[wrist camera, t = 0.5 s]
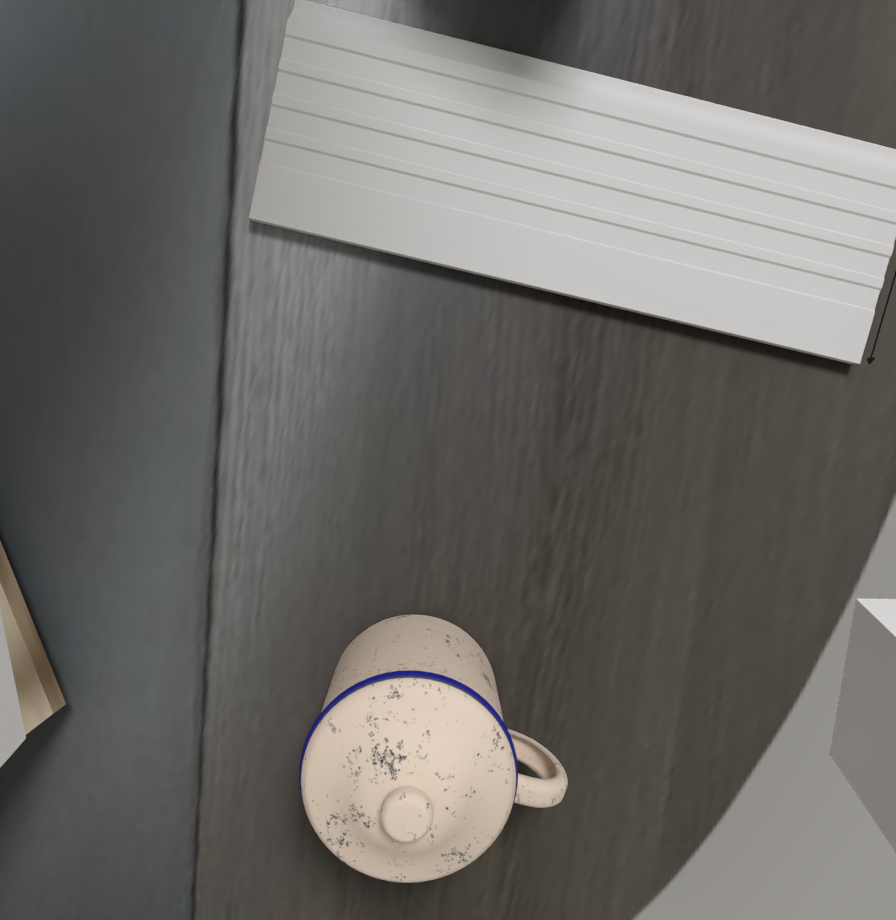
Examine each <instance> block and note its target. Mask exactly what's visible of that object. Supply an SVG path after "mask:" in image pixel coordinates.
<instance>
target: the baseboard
mask: <svg viewBox="0 0 896 920" xmlns="http://www.w3.org/2000/svg"><path fill="white" fill-rule="evenodd" d="M249 218H250V219H251V220H252V221H255V222H259V223H263V224H267V225H271V226H276V227H280V228H284V229H288V230H292V231H297V232H301V233H305V234H309V235H313V236H317V237H322V238H326V239H330V240H334V241H338V242H343V243H347V244H351V245H355V246H359V247H363V248H368V249H372V250H376V251H380V252H384V253H389V254H393V255H397V256H401V257H405V258H409V259H414V260H418V261H422V262H426V263H430V264H435V265H439V266H443V267H447V268H451V269H455V270H460V271H464V272H468V273H472V274H476V275H481V276H485V277H489V278H493V279H497V280H501V281H506V282H510V283H514V284H518V285H522V286H527V287H531V288H535V289H539V290H543V291H547V292H552V293H556V294H560V295H564V296H568V297H573V298H577V299H581V300H585V301H589V302H593V303H598V304H602V305H606V306H610V307H614V308H619V309H623V310H627V311H631V312H635V313H639V314H644V315H648V316H652V317H656V318H660V319H665V320H669V321H673V322H677V323H681V324H685V325H690V326H694V327H698V328H702V329H706V330H711V331H715V332H719V333H723V334H727V335H731V336H736V337H740V338H744V339H748V340H752V341H756V342H761V343H765V344H769V345H773V346H777V347H782V348H786V349H790V350H794V351H798V352H802V353H807V354H811V355H815V356H819V357H823V358H828V359H832V360H836V361H840V362H844V363H848V364H860V362H861V358H862V355H863V352H864V348H865V345H866V341H867V338H868V334H869V331H870V327H871V324H872V321H873V317H874V314H875V307H876V303H877V300H878V296H879V293H880V290H881V289H882V286H883V283H884V276H885V272H886V269H887V265H888V262H889V259H890V257H891V255H892V252H893V248H894V246H893V245H894V241H895V238H896V149H892V148H888V147H885V146H881V145H877V144H873V143H869V142H865V141H861V140H857V139H853V138H849V137H845V136H841V135H837V134H833V133H829V132H825V131H821V130H817V129H813V128H809V127H806V126H802V125H798V124H794V123H790V122H786V121H782V120H778V119H774V118H770V117H766V116H762V115H758V114H754V113H750V112H746V111H742V110H738V109H734V108H730V107H726V106H723V105H719V104H715V103H711V102H707V101H703V100H699V99H695V98H691V97H687V96H683V95H679V94H675V93H671V92H667V91H663V90H659V89H655V88H651V87H647V86H644V85H640V84H636V83H632V82H628V81H624V80H620V79H616V78H612V77H608V76H604V75H600V74H596V73H592V72H588V71H584V70H580V69H576V68H572V67H568V66H565V65H561V64H557V63H553V62H549V61H545V60H541V59H537V58H533V57H529V56H525V55H521V54H517V53H513V52H509V51H505V50H501V49H497V48H493V47H489V46H485V45H482V44H478V43H474V42H470V41H466V40H462V39H458V38H454V37H450V36H446V35H442V34H438V33H434V32H430V31H426V30H422V29H418V28H414V27H410V26H406V25H403V24H399V23H395V22H391V21H387V20H383V19H379V18H375V17H371V16H367V15H363V14H359V13H355V12H351V11H347V10H343V9H339V8H335V7H331V6H327V5H323V4H320V3H316V2H312V1H308V0H295V2H294V6H293V10H292V13H291V15H290V16H289V18H288V19H287V24H286V30H285V37H284V43H283V48H282V53H281V58H280V60H279V65H278V73H277V78H276V84H275V89H274V93H273V96H272V101H271V109H270V114H269V119H268V124H267V128H266V132H265V137H264V145H263V150H262V155H261V160H260V163H259V168H258V173H257V178H256V183H255V188H254V193H253V198H252V204H251V209H250V214H249ZM895 277H896V271H895V275H894V278H893V282H892V285H891V289H890V292H889V295H888V299H887V302H886V306H885V309H884V313H883V316H882V319H881V323H880V326H879V330H878V333H877V336H876V340H875V343H874V347H873V350H872V354H871V357H870V358H867V360H868V363H869V364H870V363H871V362H872V361H873V360H874V359H875V358H872V355H873V352H874V348H875V345H876V342H877V338H878V335H879V331H880V328H881V324H882V321H883V318H884V314H885V311H886V307H887V304H888V301H889V297H890V294H891V290H892V287H893V283H894V280H895Z"/></svg>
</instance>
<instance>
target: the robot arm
mask: <svg viewBox="0 0 896 920" xmlns="http://www.w3.org/2000/svg"><path fill="white" fill-rule="evenodd" d="M25 739H26V735H25V730H24V725H23V720H22V715H21V710H20V705H19V700H18V695H17V690H16V685H15V680H14V675H13V670H12V665H11V661H10V656H9V651H8V646H7V641H6V636H5V631H4V626H3V621H2V616H1V611H0V767H1V766H2V765H3V764H4V763H5V762H6V760H7V759H8V758H9V757H10V756H11V755H12V754H13V753H14V751H15V750H16V749H17V748H18V747H19V746H20V745H21V744H22V742H23V741H24V740H25ZM830 756H831V757H832V758H833V760H834V761H835V763H836V765H837V766H838V767H839V769H840V770H841V772H842V773H843V775H844V776H845V778H846V779H847V781H848V782H849V784H850V785H851V787H852V788H853V790H854V791H855V793H856V794H857V795H858V797H859V799H860V800H861V802H862V803H863V804H864V806H865V807H866V809H867V810H868V812H869V814H870V815H871V816H872V818H873V819H874V821H875V822H876V824H877V825H878V827H879V828H880V830H881V831H882V833H883V834H884V836H885V837H886V839H887V840H888V842H889V843H890V844H891V846H892V848H893V849H894V851H895V852H896V599H856V603H855V609H854V615H853V620H852V626H851V632H850V638H849V644H848V650H847V655H846V661H845V667H844V673H843V679H842V685H841V690H840V696H839V702H838V708H837V714H836V720H835V726H834V731H833V737H832V743H831V749H830Z"/></svg>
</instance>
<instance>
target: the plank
mask: <svg viewBox="0 0 896 920" xmlns="http://www.w3.org/2000/svg"><path fill="white" fill-rule="evenodd" d="M0 611H1V616H2V621H3V626H4V631H5V636H6V641H7V646H8V651H9V656H10V661H11V665H12V670H13V675H14V680H15V685H16V690H17V695H18V700H19V705H20V710H21V715H22V720H23V725H24V730H25V735H26V734H28V733H29V732H30V731H31V730H33V729H34V728H35V727H37V726H38V725H39V724H40V723H42V722H43V721H44V720H46V719H47V718H48V717H50V716H51V715H52V714H54V713H55V712H56V711H58V710H59V709H60V708H61V707H63V706H64V705H65V704H66V703H65V700H64V698H63V695H62V693H61V690H60V688H59V685H58V683H57V680H56V678H55V675H54V673H53V670H52V668H51V665H50V663H49V660H48V658H47V655H46V653H45V650H44V648H43V646H42V643H41V641H40V638H39V636H38V633H37V631H36V628H35V626H34V623H33V621H32V618H31V616H30V613H29V611H28V608H27V606H26V603H25V601H24V598H23V596H22V593H21V591H20V588H19V586H18V583H17V581H16V578H15V576H14V573H13V571H12V568H11V566H10V563H9V561H8V558H7V556H6V553H5V551H4V548H3V546H2V543H1V541H0Z"/></svg>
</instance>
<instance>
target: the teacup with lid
mask: <svg viewBox="0 0 896 920" xmlns="http://www.w3.org/2000/svg"><path fill="white" fill-rule="evenodd" d="M517 760H518V761H520V762H522V763H524V764H525V765H527V766H528V767H530V768H531V769H532V770H533V771H534V772H536V773H537V774H538V775H539V776H540V778H541V779H539V778H533V777H529V776H526V775H522V774H519V773H518V763H517ZM299 780H300V790H301V796H302V800H303V804H304V807H305V810H306V813H307V816H308V818H309V821H310V823H311V825H312V827H313V828H314V830H315V832H316V833H317V835H318V836H319V838H320V839H321V840H322V842H323V843H324V844H325V845H326V847H327V848H328V849H329V850H330V851H331V852H332V853H333V854H334V855H336V856H337V857H338V858H339V859H340V860H342V861H343V862H344V863H346V864H347V865H349V866H350V867H352V868H354V869H356V870H357V871H359V872H362V873H364V874H366V875H368V876H371V877H374V878H378V879H382V880H386V881H392V882H403V883H412V882H423V881H429V880H434V879H438V878H441V877H444V876H447V875H449V874H452V873H454V872H456V871H458V870H460V869H462V868H463V867H465V866H467V865H468V864H470V863H471V862H473V861H474V860H475V859H477V858H478V857H479V856H480V855H481V854H483V853H484V852H485V851H486V850H487V849H488V848H489V847H490V846H491V844H492V843H493V842H494V841H495V839H496V838H497V837H498V835H499V834H500V832H501V831H502V829H503V827H504V825H505V823H506V821H507V819H508V817H509V815H510V812H511V810H512V807H513V804H514V803H518V804H521V805H525V806H530V807H537V808H545V807H551V806H554V805H556V804H558V803H559V802H560V801H561V800H562V799H563V797H564V794H565V791H566V788H567V782H568V780H567V775H566V772H565V770H564V768H563V767H562V765H561V763H560V762H559V761H558V760H557V759H556V757H555V756H554V755H553V754H552V753H551V752H550V751H548V750H547V749H546V748H545V747H543V746H542V745H541V744H539V743H538V742H536V741H534V740H533V739H531V738H529V737H527V736H525V735H523V734H520V733H518V732H515V731H512V730H509V729H507V727H506V725H505V724H504V722H503V717H502V712H501V707H500V702H499V697H498V693H497V688H496V683H495V678H494V674H493V671H492V668H491V665H490V663H489V661H488V659H487V657H486V655H485V654H484V652H483V650H482V649H481V648H480V646H479V645H478V644H477V643H476V642H475V640H474V639H473V638H472V637H471V636H469V635H468V634H467V633H466V632H465V631H463V630H462V629H460V628H459V627H457V626H455V625H454V624H452V623H449V622H447V621H445V620H442V619H439V618H436V617H432V616H426V615H402V616H396V617H392V618H389V619H386V620H383V621H381V622H378V623H376V624H374V625H372V626H371V627H369V628H367V629H366V630H365V631H363V632H362V633H361V634H359V635H358V636H357V637H356V638H355V639H354V640H353V641H352V642H351V643H350V644H349V646H348V647H347V648H346V650H345V651H344V653H343V654H342V656H341V658H340V660H339V662H338V664H337V666H336V669H335V672H334V675H333V678H332V681H331V684H330V687H329V690H328V693H327V696H326V699H325V702H324V705H323V708H322V711H321V714H320V715H319V716H318V718H317V719H316V721H315V723H314V724H313V726H312V728H311V730H310V732H309V734H308V736H307V739H306V741H305V744H304V747H303V751H302V755H301V761H300V772H299Z"/></svg>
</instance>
